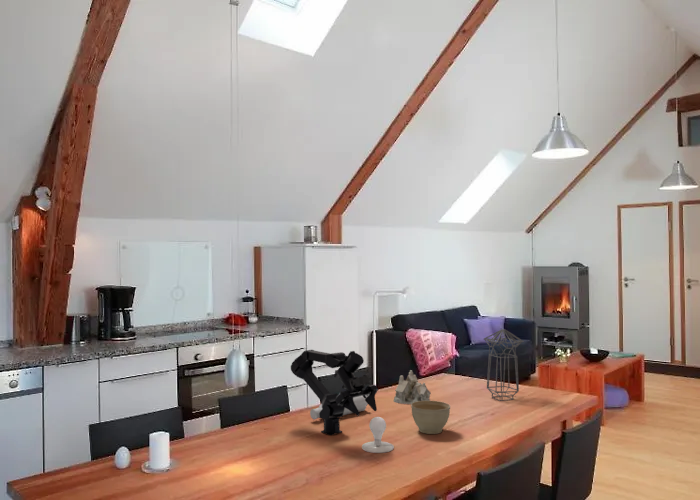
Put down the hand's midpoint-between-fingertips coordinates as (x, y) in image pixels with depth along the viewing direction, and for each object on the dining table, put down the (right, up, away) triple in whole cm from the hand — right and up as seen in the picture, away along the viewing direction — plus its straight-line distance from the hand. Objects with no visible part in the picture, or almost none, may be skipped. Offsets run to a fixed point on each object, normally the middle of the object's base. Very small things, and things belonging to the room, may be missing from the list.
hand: (367, 412), depth 233 cm
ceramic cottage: (+24, -13, +67) cm, 72 cm away
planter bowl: (+27, -12, +17) cm, 34 cm away
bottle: (-12, -13, +41) cm, 45 cm away
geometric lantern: (+71, -12, +72) cm, 102 cm away
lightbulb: (+4, -12, -4) cm, 13 cm away
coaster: (+4, -12, -4) cm, 13 cm away
